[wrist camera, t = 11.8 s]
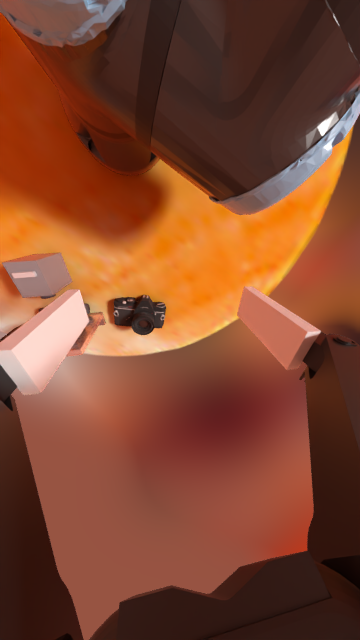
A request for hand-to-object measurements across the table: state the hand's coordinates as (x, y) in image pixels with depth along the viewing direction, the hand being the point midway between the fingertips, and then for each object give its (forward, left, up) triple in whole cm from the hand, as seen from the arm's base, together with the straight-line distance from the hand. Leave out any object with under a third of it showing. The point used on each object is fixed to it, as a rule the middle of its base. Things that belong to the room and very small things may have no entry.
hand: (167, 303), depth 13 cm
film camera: (+14, -6, -26) cm, 30 cm away
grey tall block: (+2, -22, -26) cm, 34 cm away
